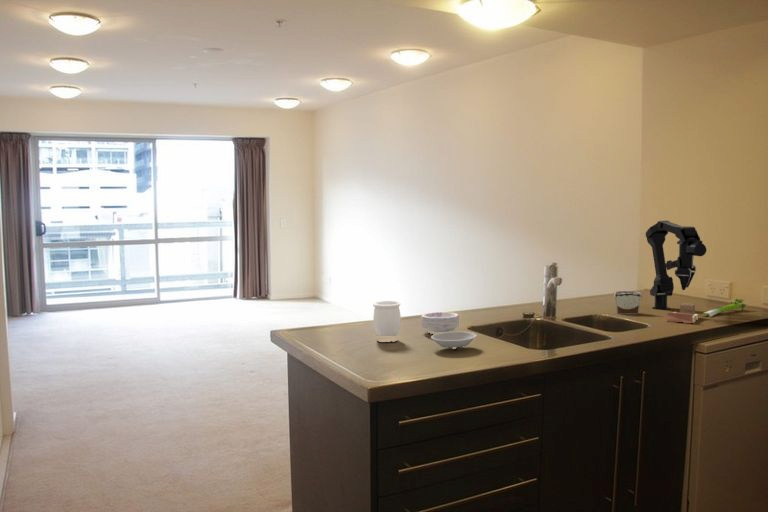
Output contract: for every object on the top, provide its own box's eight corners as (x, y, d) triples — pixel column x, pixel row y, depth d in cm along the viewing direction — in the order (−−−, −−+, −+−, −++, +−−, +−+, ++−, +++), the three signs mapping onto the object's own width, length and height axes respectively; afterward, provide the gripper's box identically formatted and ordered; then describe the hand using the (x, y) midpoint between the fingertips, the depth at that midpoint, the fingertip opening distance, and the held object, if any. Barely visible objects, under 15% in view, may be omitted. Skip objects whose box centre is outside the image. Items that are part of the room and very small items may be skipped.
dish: (462, 342, 234) (461, 329, 233) (485, 350, 221) (485, 336, 221) (423, 348, 225) (422, 335, 225) (445, 356, 213) (444, 342, 212)
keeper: (682, 316, 277) (682, 303, 276) (694, 317, 274) (695, 304, 273) (679, 318, 273) (680, 304, 272) (692, 319, 270) (692, 305, 269)
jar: (381, 345, 232) (380, 306, 231) (369, 340, 241) (368, 302, 240) (405, 341, 237) (405, 303, 236) (393, 336, 246) (392, 300, 245)
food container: (637, 311, 290) (637, 290, 289) (641, 314, 284) (641, 292, 283) (610, 311, 291) (610, 290, 290) (614, 314, 285) (614, 292, 284)
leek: (698, 320, 277) (734, 307, 293) (713, 324, 272) (749, 311, 287) (699, 307, 276) (736, 295, 291) (714, 311, 270) (751, 299, 286)
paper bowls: (438, 328, 261) (437, 310, 261) (466, 333, 250) (466, 314, 250) (414, 334, 251) (413, 315, 250) (442, 339, 240) (442, 319, 239)
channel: (673, 317, 274) (673, 308, 274) (697, 319, 268) (698, 310, 267) (667, 321, 265) (667, 312, 265) (691, 323, 259) (692, 314, 259)
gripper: (670, 252, 288) (669, 285, 290) (662, 255, 273) (662, 290, 274) (696, 253, 282) (695, 286, 283) (690, 256, 267) (689, 291, 268)
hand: (685, 288), depth 277 cm, fingers open, 9 cm apart
